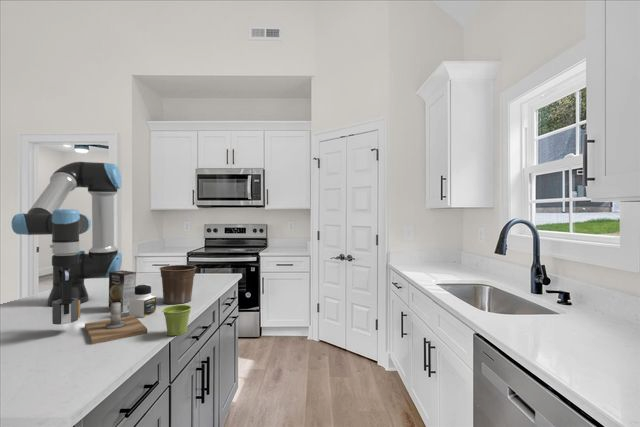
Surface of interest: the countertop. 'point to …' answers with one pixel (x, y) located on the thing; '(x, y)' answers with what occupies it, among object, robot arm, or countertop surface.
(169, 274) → the plant pot
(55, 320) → the knob
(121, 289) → the coffee box
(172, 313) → the plant pot
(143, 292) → the medicine bottle
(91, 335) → the board
